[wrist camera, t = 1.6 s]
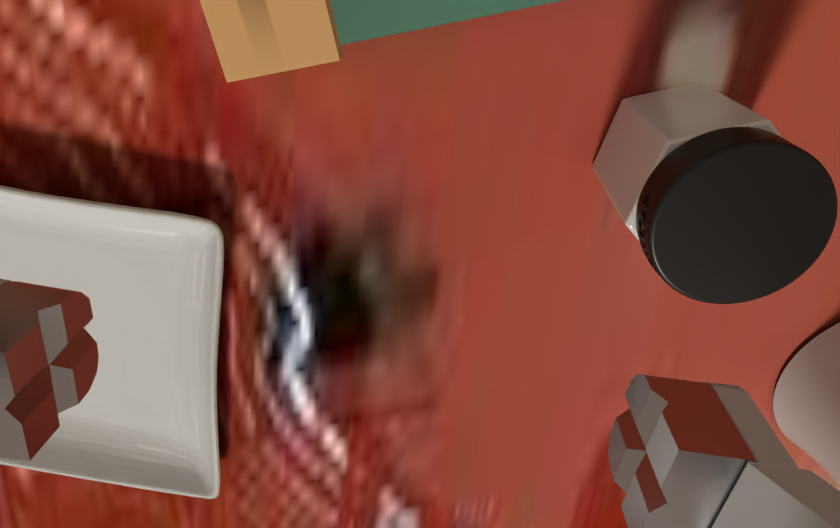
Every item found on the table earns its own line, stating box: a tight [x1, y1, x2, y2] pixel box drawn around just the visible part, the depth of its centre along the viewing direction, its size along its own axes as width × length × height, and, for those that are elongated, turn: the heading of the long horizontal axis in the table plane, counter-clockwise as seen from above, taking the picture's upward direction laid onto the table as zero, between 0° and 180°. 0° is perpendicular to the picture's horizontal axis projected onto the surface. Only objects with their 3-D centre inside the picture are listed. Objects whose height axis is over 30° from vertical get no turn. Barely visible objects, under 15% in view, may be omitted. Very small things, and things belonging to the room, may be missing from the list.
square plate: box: [0, 185, 224, 499], centre depth 46 cm, size 27×27×4 cm
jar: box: [592, 82, 837, 304], centre depth 32 cm, size 9×8×12 cm
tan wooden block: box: [200, 0, 344, 82], centre depth 30 cm, size 6×4×7 cm
